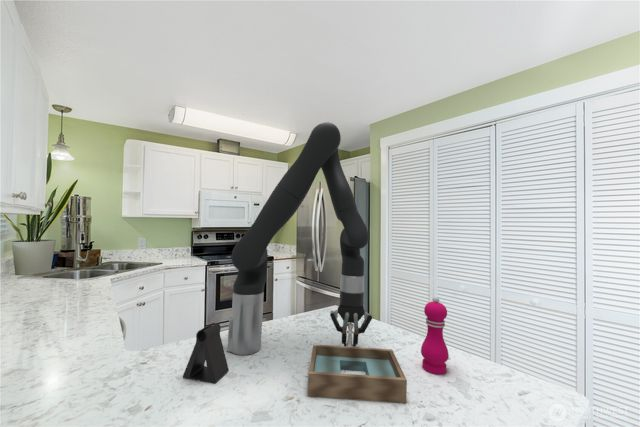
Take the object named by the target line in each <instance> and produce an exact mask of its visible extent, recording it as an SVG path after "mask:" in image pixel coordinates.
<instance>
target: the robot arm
mask: <svg viewBox="0 0 640 427" xmlns="http://www.w3.org/2000/svg"><path fill="white" fill-rule="evenodd" d="M341 138H342V136H341V132H340V129H339V128H338V126H337V125H336V124H334V123H333V122H328V121H327V122H322V123H319V124H317V125H316V126H315V127H313V129H312V130H311V132H310V135H309V137H308V138H307V141H306V143H305V145H304V146H303V148H302V150H301V152H300V153H299V155H298V157H297V159H295V161H294V162H293V164H291V166H290V167H289V168H288V169H287V171H286V172H285V173H284V175H283V177H281V179H280V180H279V182H278V183H277V185H276V186H275V187H274V189H273V191H272V192H271V193H270V194H269V197H268V199H266V202H265V203H264V204H263V207H262V208H261V210H260V211H259V213H258V215H257V216H256V218H255V220H254V221H253V223H252V224H251V226H250V227H249V229H248V230H247V231H246V232H245V234H243V236H242V237H241V238H240V240H239V241H237V243H236V244H235V246H234V247H233V249H232V252H231V263H232V265H233V267H234V268H235V269H237V275H236V279H235V280H234V282H233V286H232V288H233V289H232V300H231V301H232V302H231V304H232V305H231V306H232V308H231V317H230V318H229V319H228V333H227V349H226V350H227V352H229V353H232V354H235V355H240V356H241V355H242V356H243V355H244V356H246V355H248V356H249V355H252V354H255V353H257V352H259V351H260V350H261V347H262V335H263V334H262V331H263V313H264V312H263V311H264V294H265V292H264V290H265V285H266V282H267V272H268V270H267V269H268V258H269V257H268V256H269V254H268V247H269V245H270V243H271V242H272V240H273V238H274V237H275V235H276V234H277V233H278V232H279V231H280V230H281V229H282V228H283V227H284V226H285V225H286V224H287V222H289V221H290V220H291V218H292V217H293V216H294V215H295V213H296V212H297V211H298V210H299V208H300V207H301V205H302V203H303V202H304V200H305V198H306V197H307V195H308V193H309V191H310V190H311V187H312V185H313V183H314V181H315V179H316V176H317V174H318V173H319V171H320V170H322V174H323V175H324V176H323V177H324V179H325V181H326V182H325V183H326V186H327V190H328V193H329V196H330V202H331V204H332V207H333V211H334V213H335V216H336V218H337V220H338V221H340V222H341V223H342V226H343V229H342V230H341V232H340V236H339V246H340V255H341V276H340V280H339V281H340V285H339V306H338V307H337V309H336V310H331V311H330V312H329V316H330V318H331V321H332V323H333V325H334V327H335V330H336V331H337V332H338V333H339V332H340V333H341V344H342V345H343V346H346V344H347V340H348V336H347V334H348V333H347V331H348V326H347V325H348V323H350V322H351V323H352V324H354V326H353V329H354V330H353V332H354V333H353V334H352V344H353V347H356V346H357V345H358V343H359V335H360V334H364V333H365V332H366V330H367V328H368V327H369V325H370V323H371V321H372V319H373V316H372V314H371V313H368V312H367V311H366V310H365V309H364V304H365V302H364V300H365V299H364V298H365V276H364V275H365V260H364V258H363V256H362V255H361V249H364V248H365V247H366V246H367V245H368V242H369V240H370V238H369V237H370V236H369V231H368V228H367V226H366V223H365V222H364V219H363V218H362V216H361V215H360V212H359V211H358V206H357V203H356V200H355V196H354V194H353V191H352V188H351V186H350V183H349V182H348V180H347V178H346V177H347V176H346V175H345V172H344V170H343V168H342V165H341V160H340V154H339V146H340V145H341V140H342V139H341ZM339 316H340V318H341V319H342V326H341V324H340V323H339V320H338V317H339ZM362 318H363V319H364V320H363V322H362V323H361V325H360V327H359V321H360V320H361V319H362Z"/></svg>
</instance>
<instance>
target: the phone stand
mask: <svg viewBox="0 0 640 427" xmlns="http://www.w3.org/2000/svg"><path fill="white" fill-rule="evenodd" d="M221 328H222V327H221V324H220V323H219V322H216V323H215V322H212V323H210V324H209V325H206V326H205V327H203V328H201V329H200V330H198V331H197V332H196V333H195V334H196V335H195V338H196V339H195V340H196V341H195V345H194V347H193V350H192V352H191V354H190V357H189V359H188V362H187V364H186V367H185V369H184V372H183V375H182V378H183V379H186V380H190V381H197V382H198V381H199V382H203V383H209V384H217V382H218V381H220V380H221V379H222V378H223V377H224V376H225V375H226V374H227V373H228V372H229V371H230V370H229V366H228V362H227V358H226V357H227V356H226V354H225V350H224V345H223V342H222V337H221ZM205 364H206V365H205Z"/></svg>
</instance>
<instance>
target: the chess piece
mask: <svg viewBox="0 0 640 427" xmlns="http://www.w3.org/2000/svg"><path fill="white" fill-rule="evenodd" d="M353 329H354V323H351V322H350V323H348V325H347V330H346V333H347V334H348V336H347V340H346V347H353V333H354V330H353Z"/></svg>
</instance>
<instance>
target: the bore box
mask: <svg viewBox="0 0 640 427" xmlns="http://www.w3.org/2000/svg"><path fill="white" fill-rule="evenodd" d="M311 351H312V352H311V357H310V362H309V368H308V373H307V374H308V376H307V395H306V396H307V397H312V398H313V397H314V398H327V399H329V398H330V399H340V400H341V399H342V400H354V401H357V400H358V401H367V402H368V401H369V402H381V403H382V402H384V403H397V404H398V403H399V404H407V390H408V389H407V388H408V387H407V386H408V380H407V377H406V375H405V373H404V371H403V369H402V367H401V365H400V363H399V361H398V358H397V357H396V354H395V352H394V350H393V349H391V348H389V349H388V348H375V347H363V346H362V347H361V346H359V347H346V346H344V345H328V344H312V350H311ZM341 371H351V372H352V371H354V372H355V371H356V372H365V374H355V373H354V374H352V373H341Z"/></svg>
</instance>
